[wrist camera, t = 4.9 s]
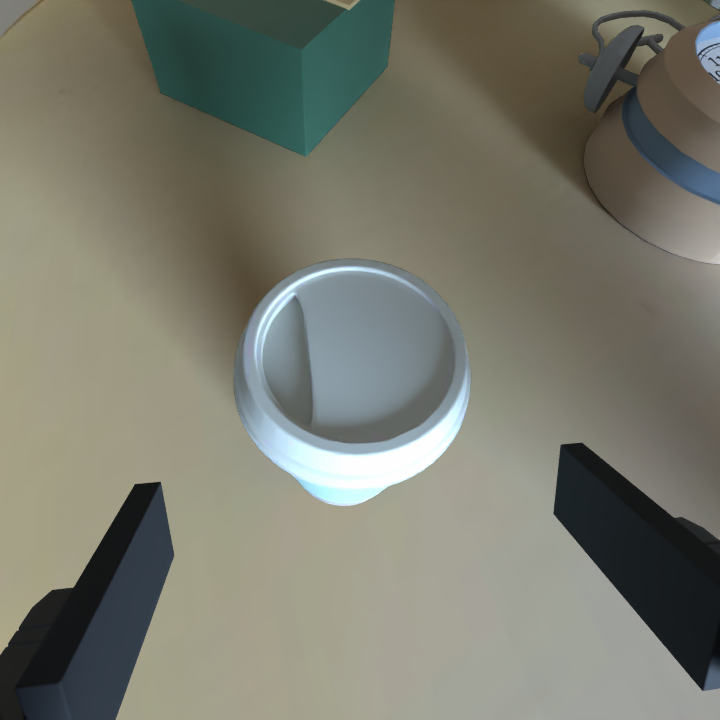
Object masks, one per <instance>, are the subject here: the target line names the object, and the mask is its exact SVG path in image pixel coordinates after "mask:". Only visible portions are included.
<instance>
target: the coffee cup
mask: <svg viewBox="0 0 720 720" xmlns="http://www.w3.org/2000/svg"><path fill="white" fill-rule="evenodd" d="M470 385H471V371H470V363H469V358H468V354H467V350H466V344H465V340H464V336H463V332H462V330H461V327H460V325H459V323H458V321H457V319H456V317H455V315H454V313H453V312H452V310H451V309H450V307H449V306H448V304H447V303H446V302H445V301H444V299H443V298H442V297H441V296H440V295H439V294H438V293H437V292H436V291H435V290H434V289H433V288H431V287H430V286H429V285H428V284H426V283H425V282H424V281H422V280H421V279H420V278H418V277H416V276H414V275H413V274H411V273H409V272H407V271H405V270H403V269H401V268H398V267H395V266H393V265H390V264H386V263H383V262H378V261H373V260H366V259H336V260H329V261H324V262H320V263H316V264H313V265H310V266H307V267H305V268H302V269H300V270H298V271H296V272H294V273H292V274H290V275H289V276H287V277H286V278H284V279H283V280H281V281H280V282H279V283H277V284H276V285H275V286H274V287H273V288H272V289H271V290H270V291H268V292H267V293H266V295H265V296H264V297H263V298H262V299H261V300H260V302H259V303H258V305H257V306H256V308H255V309H254V311H253V313H252V315H251V317H250V319H249V321H248V324H247V326H246V328H245V329H244V331H243V334H242V336H241V338H240V341H239V344H238V347H237V351H236V356H235V363H234V395H235V401H236V405H237V409H238V412H239V415H240V417H241V420H242V422H243V424H244V426H245V428H246V430H247V432H248V434H249V435H250V437H251V438H252V440H253V441H254V442H255V444H256V445H257V446H258V447H259V449H260V450H261V451H262V452H263V453H264V454H265V455H266V456H267V457H268V458H269V459H270V460H271V461H273V462H274V463H275V464H276V465H278V466H279V467H281V468H282V469H283V470H285V471H287V472H288V473H290V474H292V475H293V476H294V477H295V478H296V479H297V481H298V482H299V483H300V484H301V485H302V486H303V487H304V489H305V490H306V491H307V492H309V493H310V494H311V495H312V496H314V497H315V498H317V499H319V500H321V501H323V502H326V503H329V504H333V505H341V506H347V505H354V504H359V503H362V502H364V501H367V500H369V499H370V498H372V497H374V496H375V495H376V494H378V493H379V492H381V491H382V490H383V489H385V488H386V487H387V486H389V485H393V484H396V483H399V482H401V481H404V480H406V479H408V478H410V477H412V476H414V475H416V474H417V473H419V472H421V471H422V470H424V469H425V468H427V467H428V466H429V465H430V464H432V463H433V462H434V461H435V460H436V459H437V458H438V457H439V456H440V455H441V454H442V453H443V452H444V451H445V450H446V449H447V447H448V446H449V445H450V443H451V442H452V441H453V439H454V438H455V436H456V434H457V432H458V430H459V428H460V426H461V424H462V421H463V419H464V416H465V413H466V409H467V404H468V399H469V394H470Z"/></svg>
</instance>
